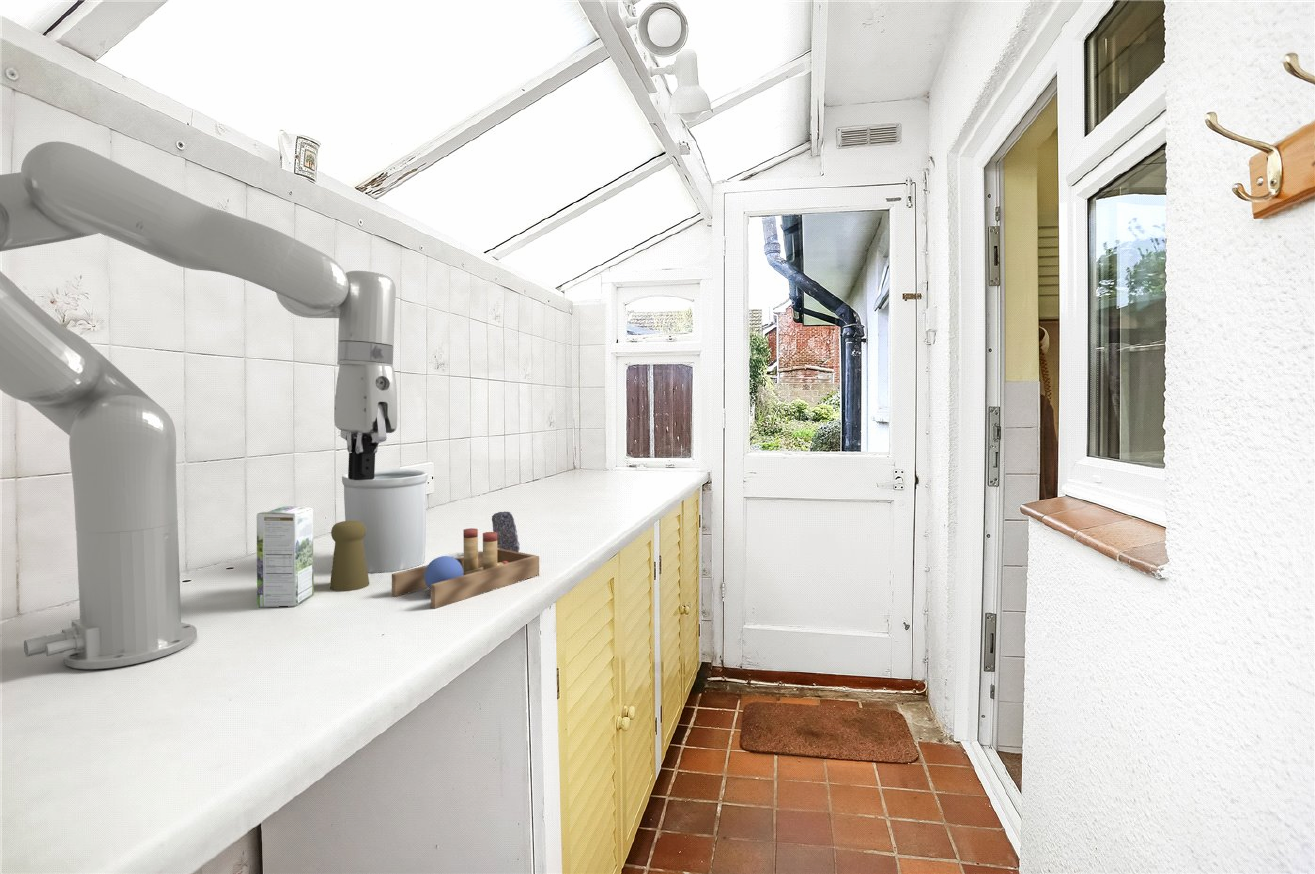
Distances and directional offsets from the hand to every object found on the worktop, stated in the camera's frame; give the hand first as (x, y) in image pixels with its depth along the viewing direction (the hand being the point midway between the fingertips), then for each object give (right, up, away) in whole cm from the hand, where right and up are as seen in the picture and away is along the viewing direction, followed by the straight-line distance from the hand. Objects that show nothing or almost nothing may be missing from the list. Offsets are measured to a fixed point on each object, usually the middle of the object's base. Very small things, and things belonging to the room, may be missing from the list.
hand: (361, 479), depth 92 cm
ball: (+10, -16, +8) cm, 20 cm away
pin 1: (+12, -19, +16) cm, 27 cm away
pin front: (+12, -18, +12) cm, 25 cm away
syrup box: (-13, -20, +3) cm, 24 cm away
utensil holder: (-8, -18, +26) cm, 33 cm away
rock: (+14, -18, +31) cm, 39 cm away
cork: (-8, -19, +12) cm, 23 cm away
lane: (+12, -19, +13) cm, 26 cm away
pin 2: (+16, -19, +13) cm, 28 cm away
